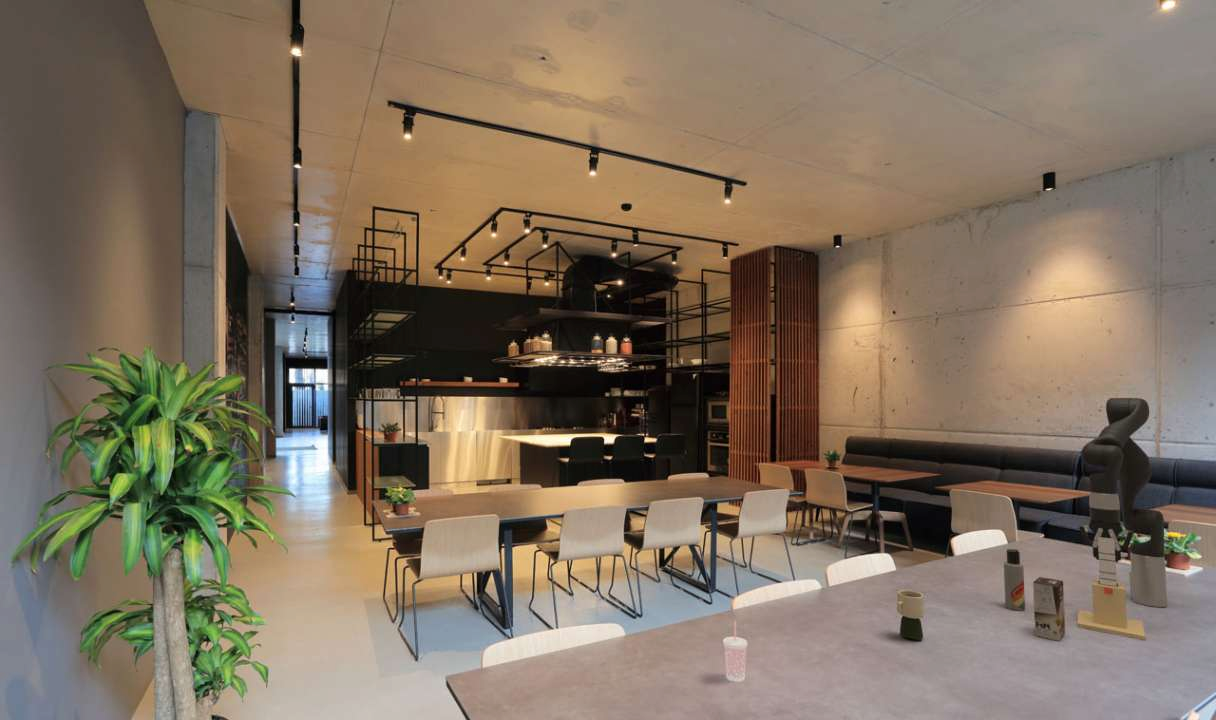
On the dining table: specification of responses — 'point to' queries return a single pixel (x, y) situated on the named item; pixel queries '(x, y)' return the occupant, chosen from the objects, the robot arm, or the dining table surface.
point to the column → (1107, 561)
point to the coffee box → (1049, 608)
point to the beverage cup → (735, 657)
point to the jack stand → (1110, 612)
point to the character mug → (910, 613)
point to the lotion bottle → (1014, 581)
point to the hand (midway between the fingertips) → (1106, 560)
